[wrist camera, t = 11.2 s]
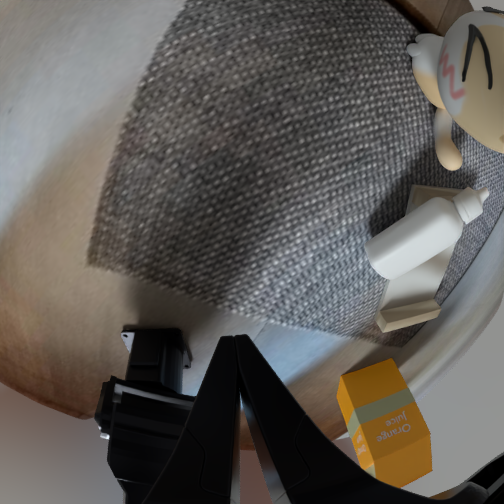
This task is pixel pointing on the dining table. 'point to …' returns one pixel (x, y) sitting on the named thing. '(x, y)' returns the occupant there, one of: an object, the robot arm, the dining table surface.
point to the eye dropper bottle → (423, 233)
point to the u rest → (415, 276)
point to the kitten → (464, 81)
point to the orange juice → (385, 424)
